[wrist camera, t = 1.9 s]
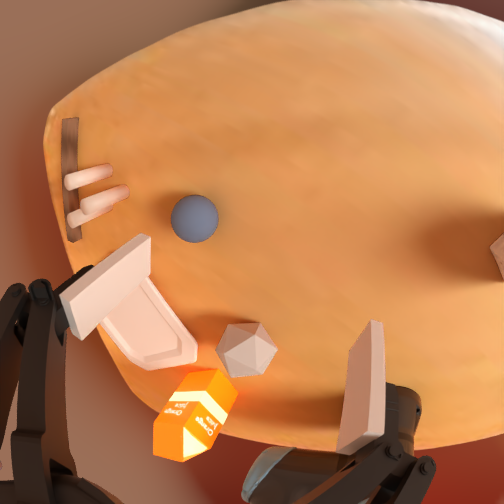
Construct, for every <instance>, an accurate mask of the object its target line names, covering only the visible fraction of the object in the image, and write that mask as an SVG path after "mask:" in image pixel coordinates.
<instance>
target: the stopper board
mask: <svg viewBox="0 0 504 504" xmlns="http://www.w3.org/2000/svg"><path fill="white" fill-rule="evenodd" d="M78 120H79V118H68V119H62V141H61V166H62V190H63V203H64V214H65V223H66V231H67V238H68V241H70V242H72V243H74V242H76V241H78V240H80V239H81V238H82V234H81V225H79V226H77V227H75V228H71V227H70V226H69V224H68V221H67V215H68V214H69V213H71V212H73V211H76V210H78V209H79V201H78V188H76V189H73V190H70V191H69V190H67V189H66V187H65V184H64V178H65V176H66V175H67V174H71V173H74V172H77V141H78Z"/></svg>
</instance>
